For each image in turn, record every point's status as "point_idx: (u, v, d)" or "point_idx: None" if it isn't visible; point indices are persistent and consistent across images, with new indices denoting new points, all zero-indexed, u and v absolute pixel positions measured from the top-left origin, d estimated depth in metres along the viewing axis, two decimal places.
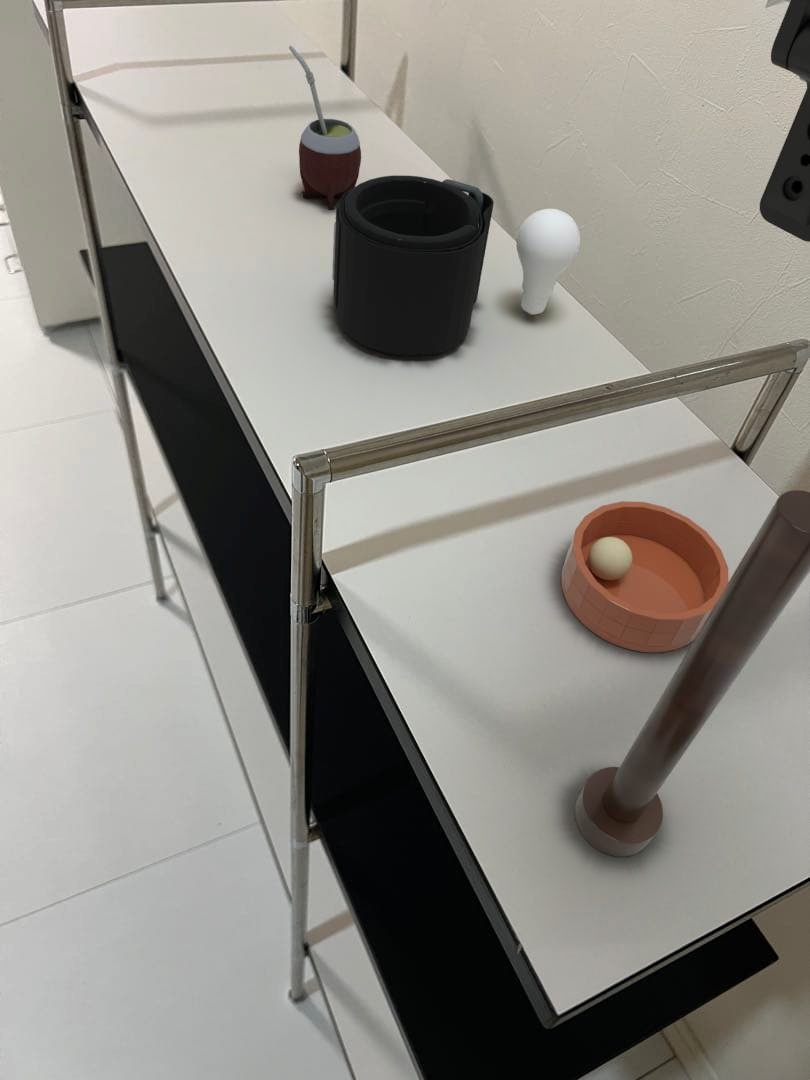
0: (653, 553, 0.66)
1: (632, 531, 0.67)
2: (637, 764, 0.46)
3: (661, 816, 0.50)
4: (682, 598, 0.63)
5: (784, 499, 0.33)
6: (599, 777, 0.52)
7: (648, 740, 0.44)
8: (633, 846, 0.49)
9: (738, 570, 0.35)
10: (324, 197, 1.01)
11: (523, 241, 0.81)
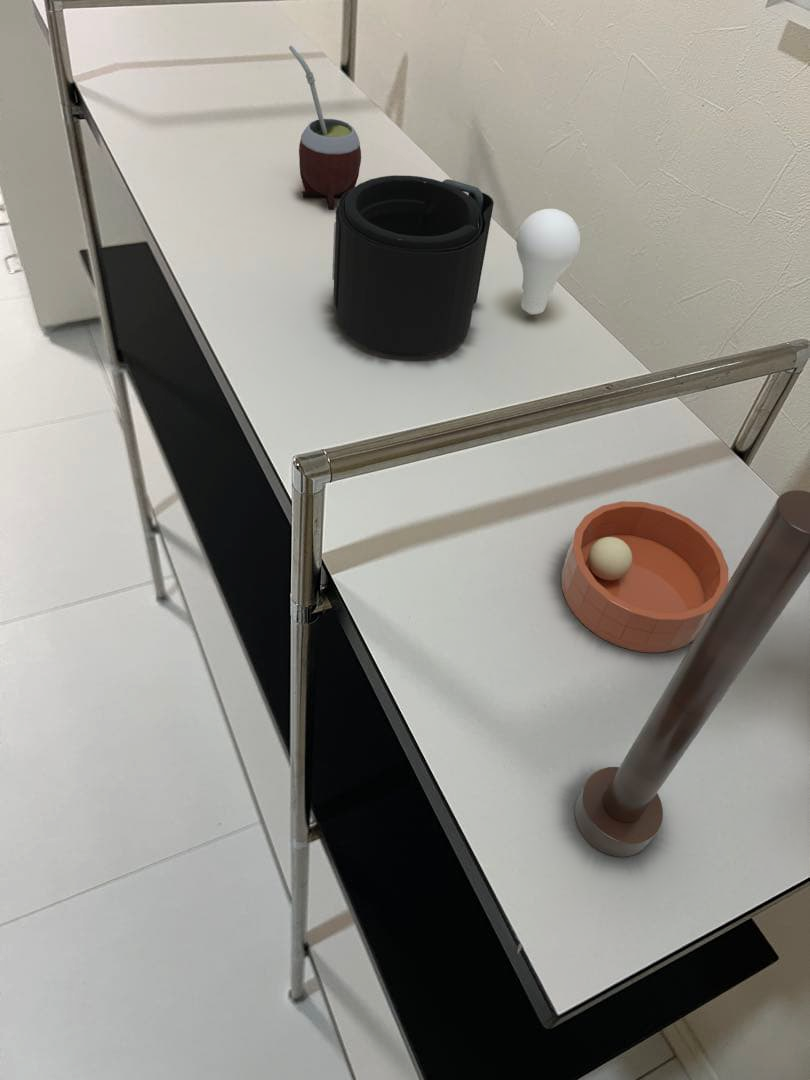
0: (653, 553, 0.66)
1: (632, 531, 0.67)
2: (637, 764, 0.46)
3: (661, 816, 0.50)
4: (682, 598, 0.63)
5: (784, 499, 0.33)
6: (599, 777, 0.52)
7: (648, 740, 0.44)
8: (633, 846, 0.49)
9: (738, 570, 0.35)
10: (324, 197, 1.01)
11: (523, 241, 0.81)
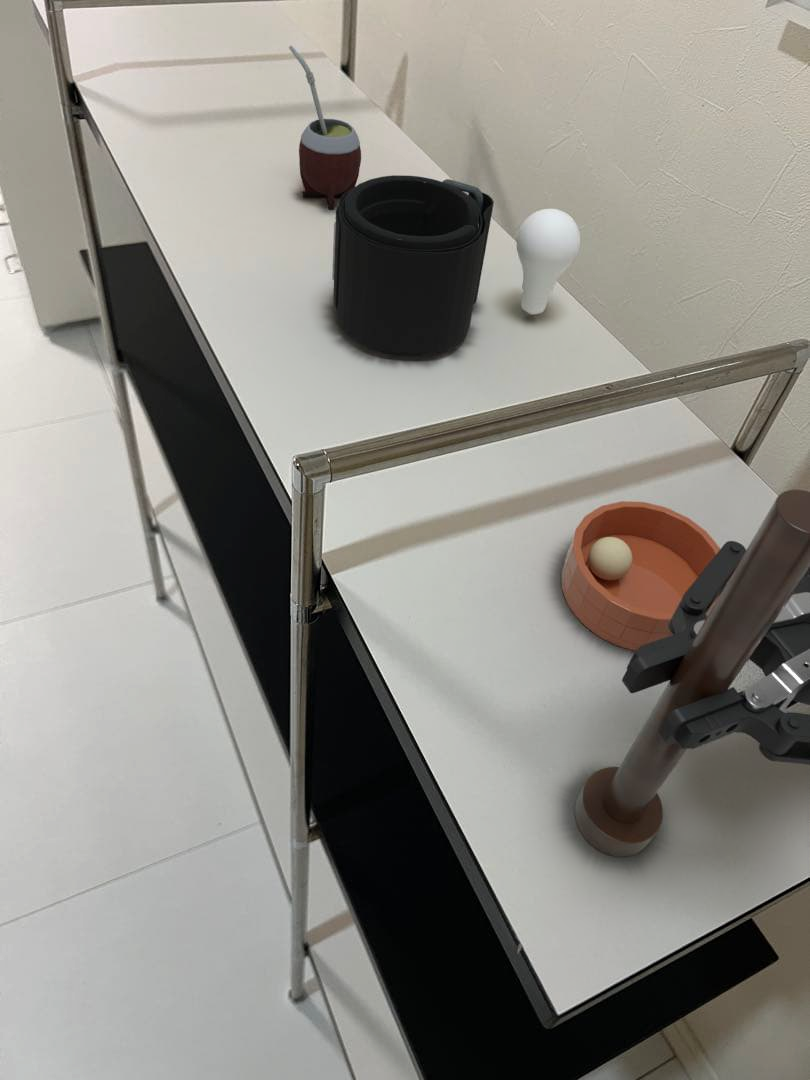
0: (653, 553, 0.66)
1: (632, 531, 0.67)
2: (637, 764, 0.46)
3: (661, 816, 0.50)
4: None
5: (783, 498, 0.33)
6: (599, 777, 0.52)
7: (648, 740, 0.44)
8: (633, 846, 0.49)
9: (737, 569, 0.35)
10: (324, 197, 1.01)
11: (523, 241, 0.81)
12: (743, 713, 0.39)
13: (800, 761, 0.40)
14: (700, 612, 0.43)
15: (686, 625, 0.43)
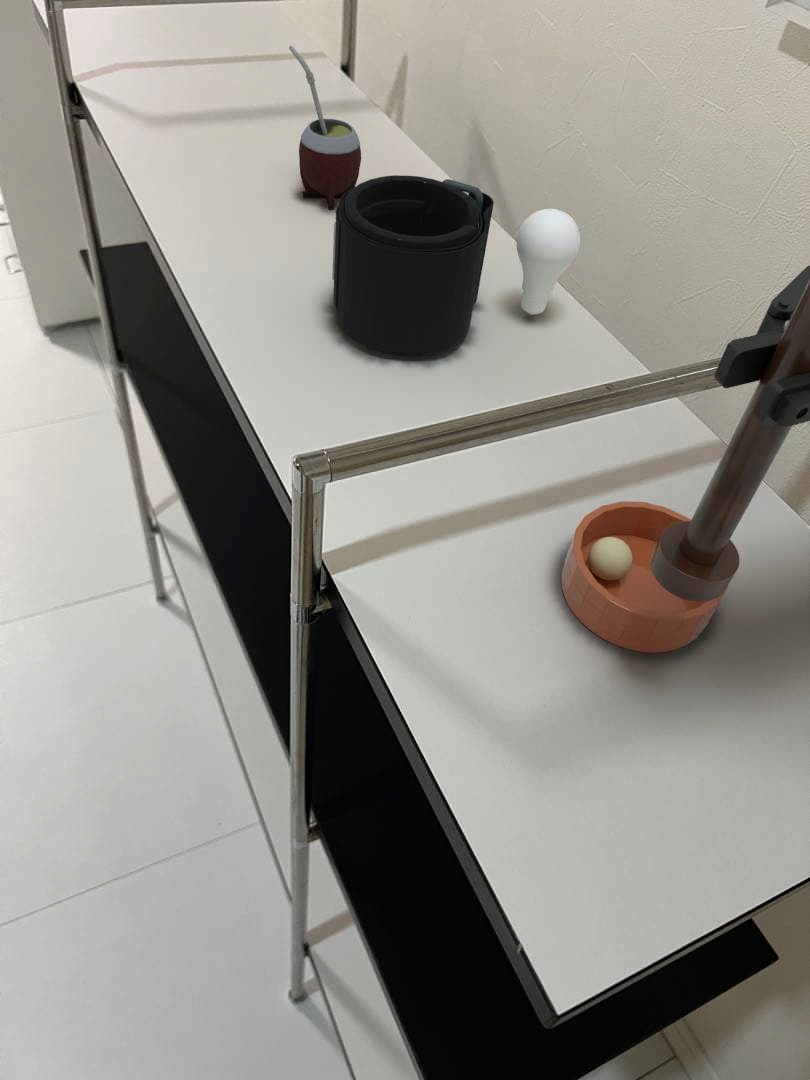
0: None
1: (632, 531, 0.67)
2: (722, 484, 0.46)
3: (738, 560, 0.51)
4: None
5: None
6: (674, 529, 0.52)
7: (735, 451, 0.45)
8: (712, 586, 0.50)
9: None
10: (324, 197, 1.01)
11: (523, 241, 0.81)
12: None
13: None
14: (788, 316, 0.43)
15: (775, 327, 0.43)
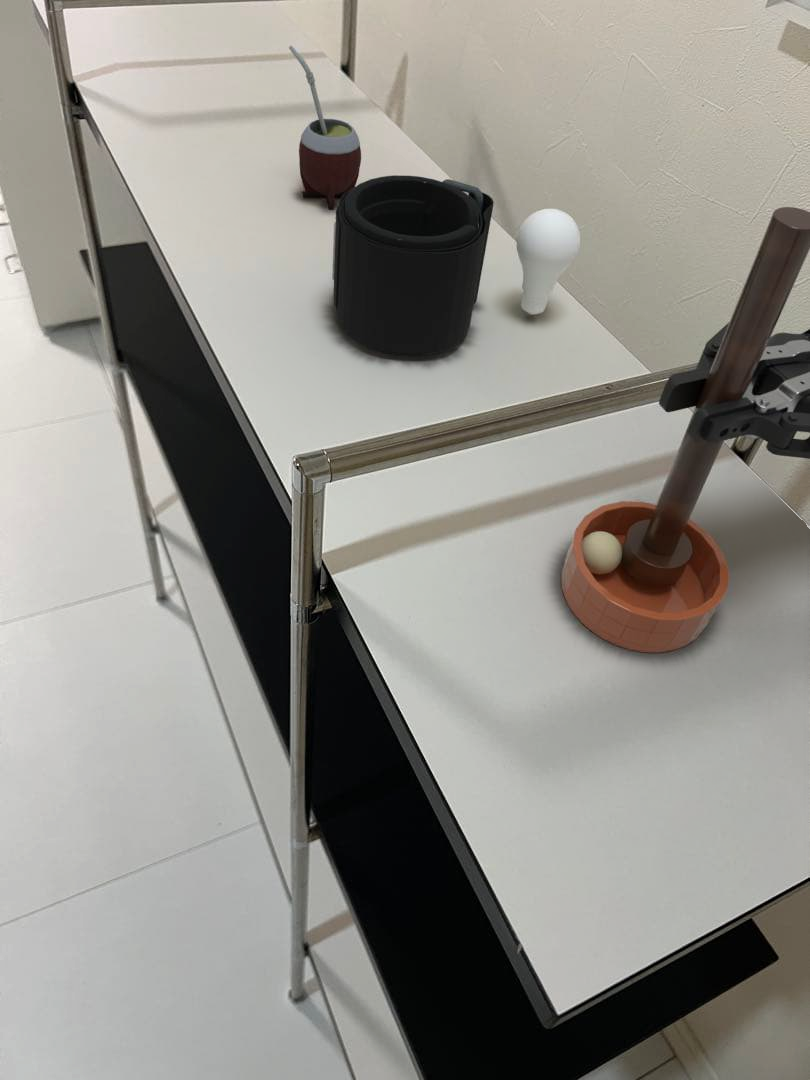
0: None
1: None
2: (671, 489, 0.57)
3: (691, 551, 0.62)
4: (682, 598, 0.63)
5: (778, 211, 0.44)
6: (640, 525, 0.63)
7: (680, 462, 0.56)
8: (668, 572, 0.61)
9: (746, 280, 0.47)
10: (324, 197, 1.01)
11: (523, 241, 0.81)
12: (754, 414, 0.51)
13: (798, 454, 0.52)
14: None
15: (708, 364, 0.54)
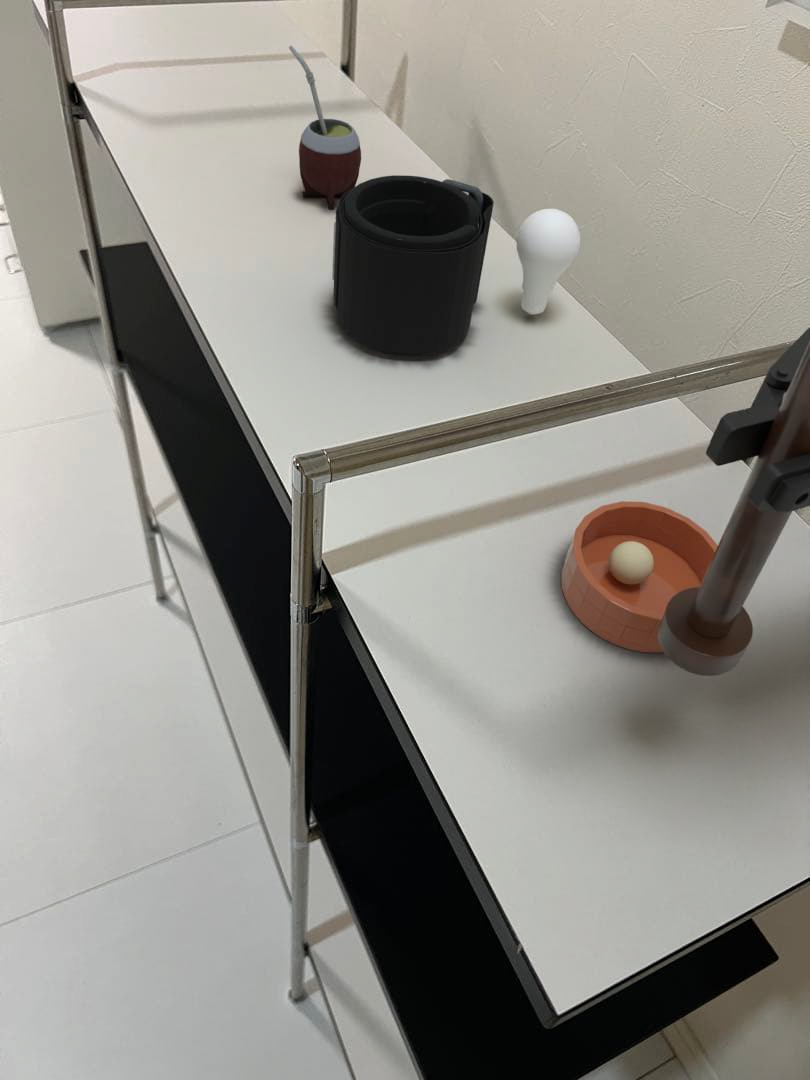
0: (653, 553, 0.66)
1: (632, 531, 0.67)
2: (722, 559, 0.43)
3: (750, 637, 0.47)
4: None
5: None
6: (687, 594, 0.49)
7: (733, 526, 0.41)
8: (714, 661, 0.47)
9: None
10: (324, 197, 1.01)
11: (523, 241, 0.81)
12: None
13: None
14: (787, 386, 0.40)
15: (773, 398, 0.40)
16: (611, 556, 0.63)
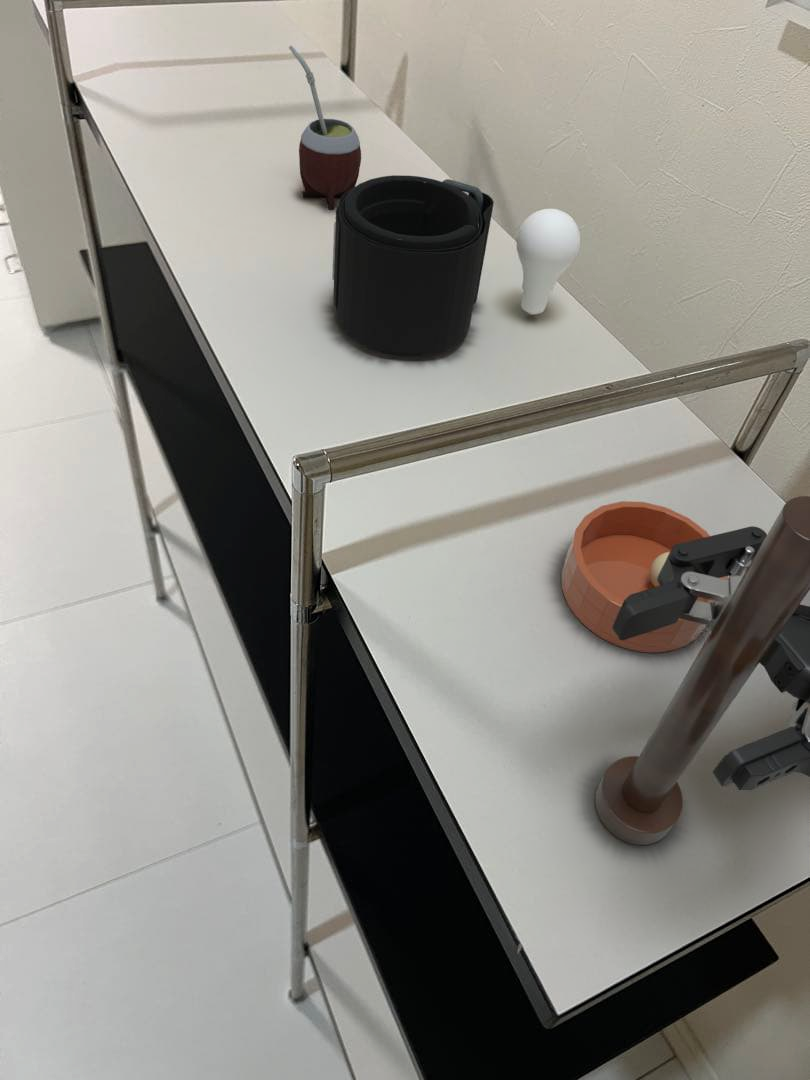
0: (653, 553, 0.66)
1: (632, 531, 0.67)
2: (652, 754, 0.46)
3: (679, 812, 0.50)
4: None
5: (792, 503, 0.32)
6: (624, 764, 0.52)
7: (662, 731, 0.44)
8: (645, 835, 0.50)
9: (747, 570, 0.35)
10: (324, 197, 1.01)
11: (523, 241, 0.81)
12: None
13: None
14: (687, 564, 0.45)
15: (674, 576, 0.44)
16: None
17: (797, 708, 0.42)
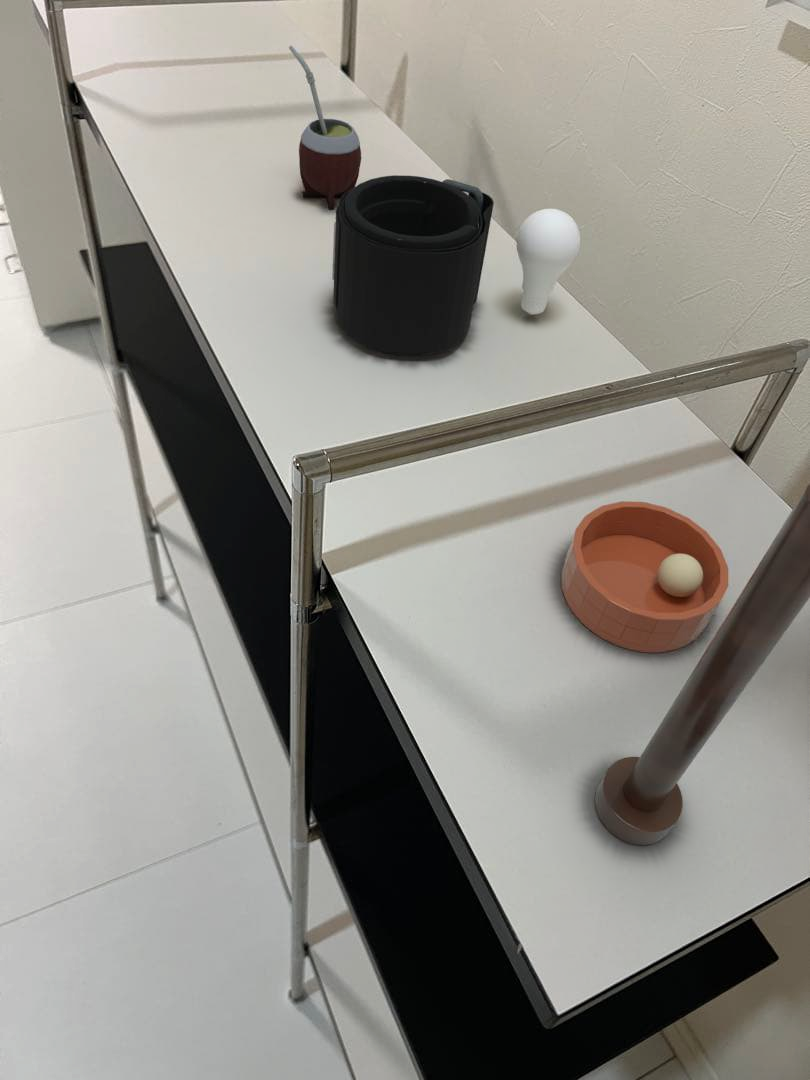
0: (653, 553, 0.66)
1: (632, 531, 0.67)
2: (657, 749, 0.46)
3: (679, 812, 0.51)
4: (682, 598, 0.63)
5: None
6: (624, 764, 0.52)
7: (669, 724, 0.45)
8: (646, 835, 0.50)
9: (765, 554, 0.36)
10: (324, 197, 1.01)
11: (523, 241, 0.81)
12: None
13: None
14: None
15: None
16: (701, 573, 0.62)
17: None
